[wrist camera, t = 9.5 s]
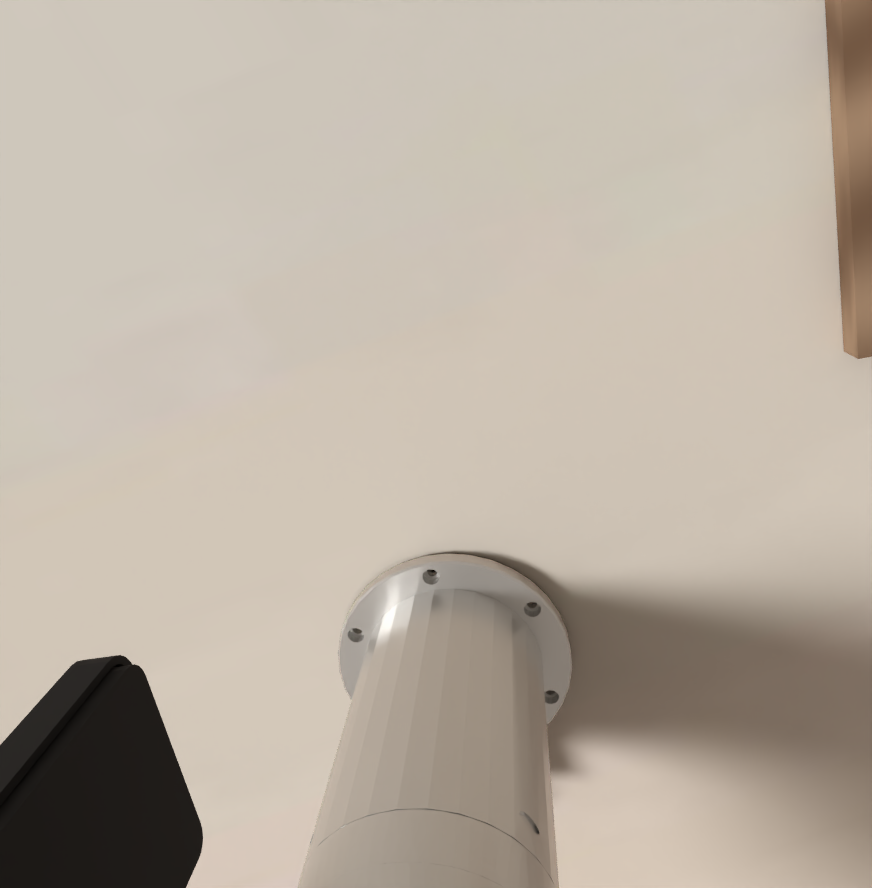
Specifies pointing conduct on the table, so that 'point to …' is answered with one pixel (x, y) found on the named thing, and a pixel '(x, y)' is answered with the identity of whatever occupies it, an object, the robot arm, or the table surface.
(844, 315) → the dial board
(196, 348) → the table surface
